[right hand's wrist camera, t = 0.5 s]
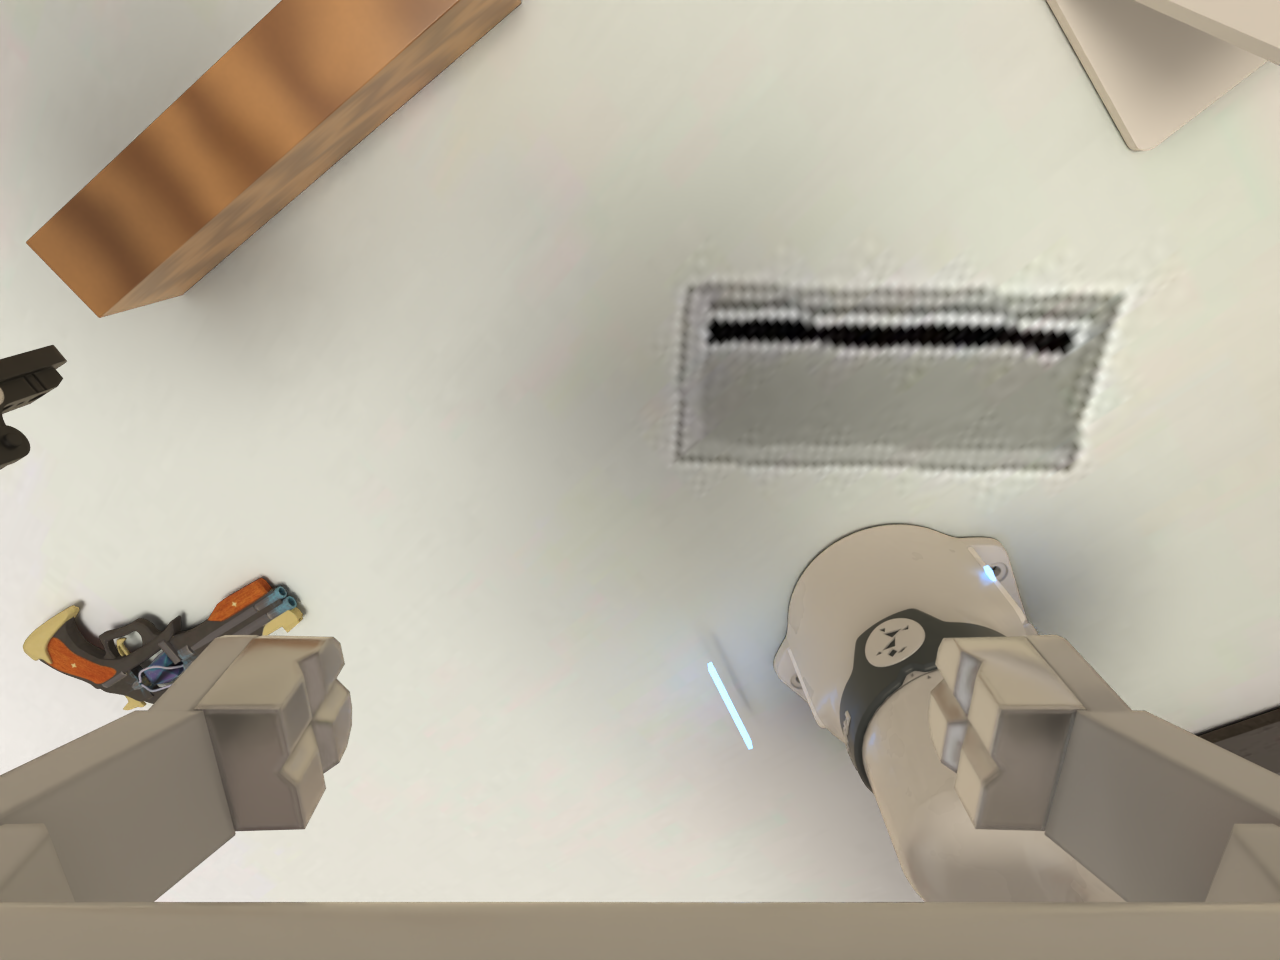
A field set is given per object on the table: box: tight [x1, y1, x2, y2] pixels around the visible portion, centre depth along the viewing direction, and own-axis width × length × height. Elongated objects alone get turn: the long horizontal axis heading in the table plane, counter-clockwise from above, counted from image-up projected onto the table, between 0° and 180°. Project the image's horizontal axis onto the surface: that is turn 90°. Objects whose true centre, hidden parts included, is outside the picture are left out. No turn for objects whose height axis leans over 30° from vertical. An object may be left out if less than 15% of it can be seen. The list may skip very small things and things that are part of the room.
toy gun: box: [23, 578, 303, 710], centre depth 56 cm, size 3×19×10 cm
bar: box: [26, 0, 521, 318], centre depth 40 cm, size 27×5×8 cm, turn 125°
